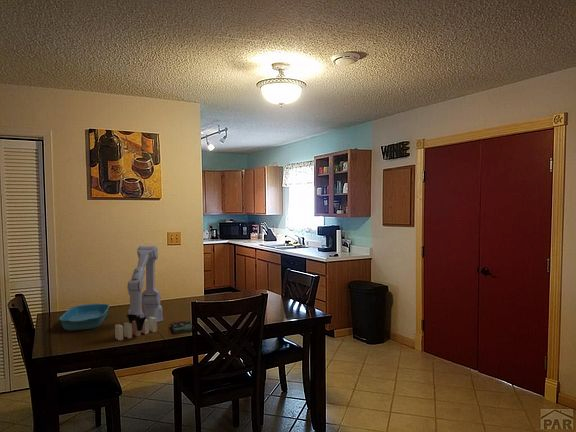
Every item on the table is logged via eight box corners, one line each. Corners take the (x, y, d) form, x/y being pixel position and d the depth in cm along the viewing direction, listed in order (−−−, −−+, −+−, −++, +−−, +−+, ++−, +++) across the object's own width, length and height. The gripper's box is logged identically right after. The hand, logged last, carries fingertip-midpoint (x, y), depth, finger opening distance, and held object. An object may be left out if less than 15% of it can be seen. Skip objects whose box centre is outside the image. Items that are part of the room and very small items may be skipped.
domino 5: (152, 329, 223) (152, 316, 222) (157, 331, 219) (156, 318, 219) (149, 330, 221) (148, 317, 221) (153, 332, 218) (153, 319, 217)
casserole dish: (100, 331, 222) (100, 317, 222) (54, 334, 217) (54, 321, 216) (112, 313, 258) (112, 301, 258) (73, 316, 252) (72, 304, 252)
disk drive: (170, 327, 227) (173, 335, 214) (170, 322, 227) (173, 329, 214) (189, 325, 231) (194, 332, 218) (189, 320, 231) (194, 327, 218)
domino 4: (144, 331, 219) (144, 318, 219) (149, 333, 216) (148, 320, 216) (141, 332, 218) (140, 319, 218) (145, 334, 215) (145, 320, 214)
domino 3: (136, 333, 216) (136, 320, 216) (140, 335, 213) (140, 321, 212) (132, 334, 215) (132, 320, 215) (136, 336, 211) (136, 322, 211)
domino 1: (119, 337, 210) (118, 323, 210) (123, 339, 206) (123, 325, 206) (115, 338, 209) (114, 324, 208) (119, 340, 205) (119, 326, 205)
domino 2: (128, 335, 213) (127, 321, 213) (132, 337, 210) (131, 323, 209) (124, 336, 212) (123, 322, 212) (128, 338, 208) (127, 324, 208)
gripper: (122, 302, 216) (123, 327, 216) (134, 306, 205) (135, 333, 206) (135, 299, 221) (136, 324, 221) (147, 304, 210) (148, 330, 211)
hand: (136, 329), depth 214 cm, fingers open, 7 cm apart
